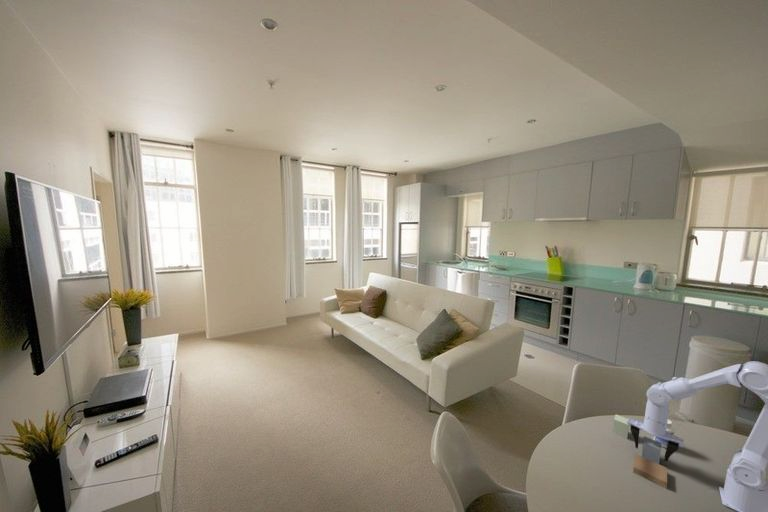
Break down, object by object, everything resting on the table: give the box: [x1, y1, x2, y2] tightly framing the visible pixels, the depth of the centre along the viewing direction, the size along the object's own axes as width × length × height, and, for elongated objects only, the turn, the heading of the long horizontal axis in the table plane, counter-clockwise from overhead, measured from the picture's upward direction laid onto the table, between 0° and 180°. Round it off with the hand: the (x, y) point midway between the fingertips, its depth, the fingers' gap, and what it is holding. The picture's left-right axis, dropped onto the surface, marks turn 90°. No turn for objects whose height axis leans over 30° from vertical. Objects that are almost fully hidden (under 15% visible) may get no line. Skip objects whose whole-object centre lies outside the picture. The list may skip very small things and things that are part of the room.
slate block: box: [641, 435, 662, 465], centre depth 100 cm, size 4×4×6 cm
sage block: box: [612, 413, 630, 440], centre depth 112 cm, size 4×4×6 cm
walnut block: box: [632, 453, 668, 489], centre depth 94 cm, size 8×8×2 cm
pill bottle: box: [652, 418, 675, 449], centre depth 107 cm, size 5×5×10 cm
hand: (650, 452), depth 100 cm, fingers open, 7 cm apart
